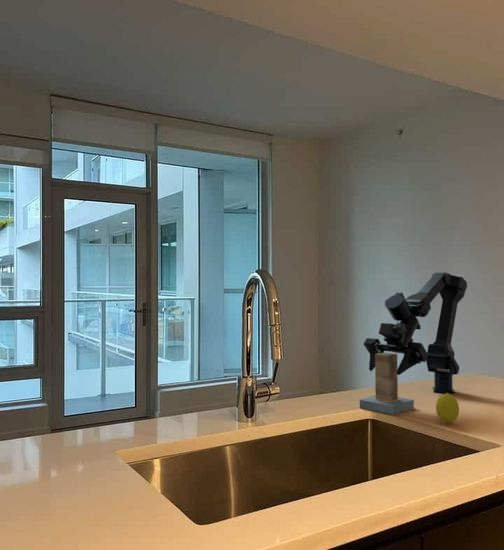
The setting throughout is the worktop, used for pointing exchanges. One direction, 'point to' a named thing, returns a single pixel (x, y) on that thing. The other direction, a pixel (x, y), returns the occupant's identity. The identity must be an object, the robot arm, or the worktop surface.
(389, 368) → the pillar
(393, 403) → the plate
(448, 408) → the lemon
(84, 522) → the worktop surface
